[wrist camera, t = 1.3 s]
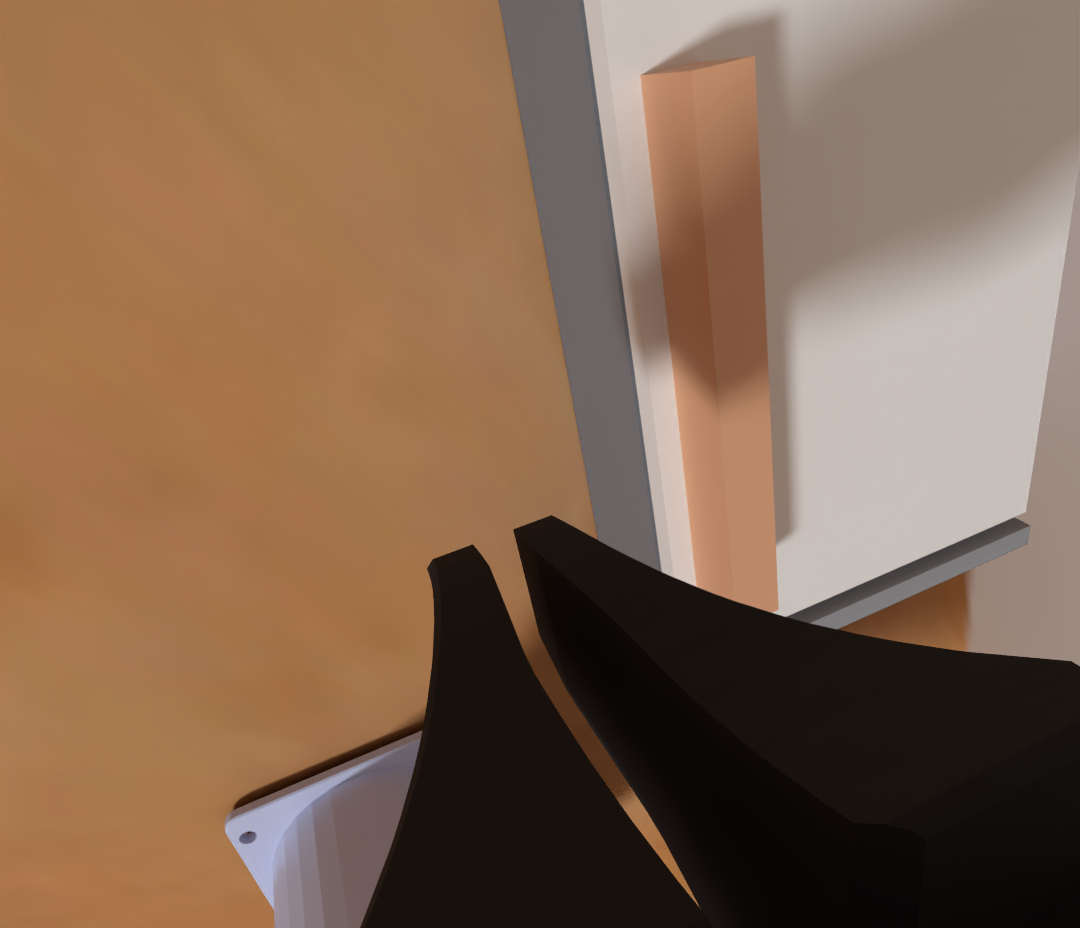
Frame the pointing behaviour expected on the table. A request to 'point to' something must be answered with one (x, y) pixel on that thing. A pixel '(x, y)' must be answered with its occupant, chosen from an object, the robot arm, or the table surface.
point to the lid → (836, 272)
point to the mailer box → (600, 314)
